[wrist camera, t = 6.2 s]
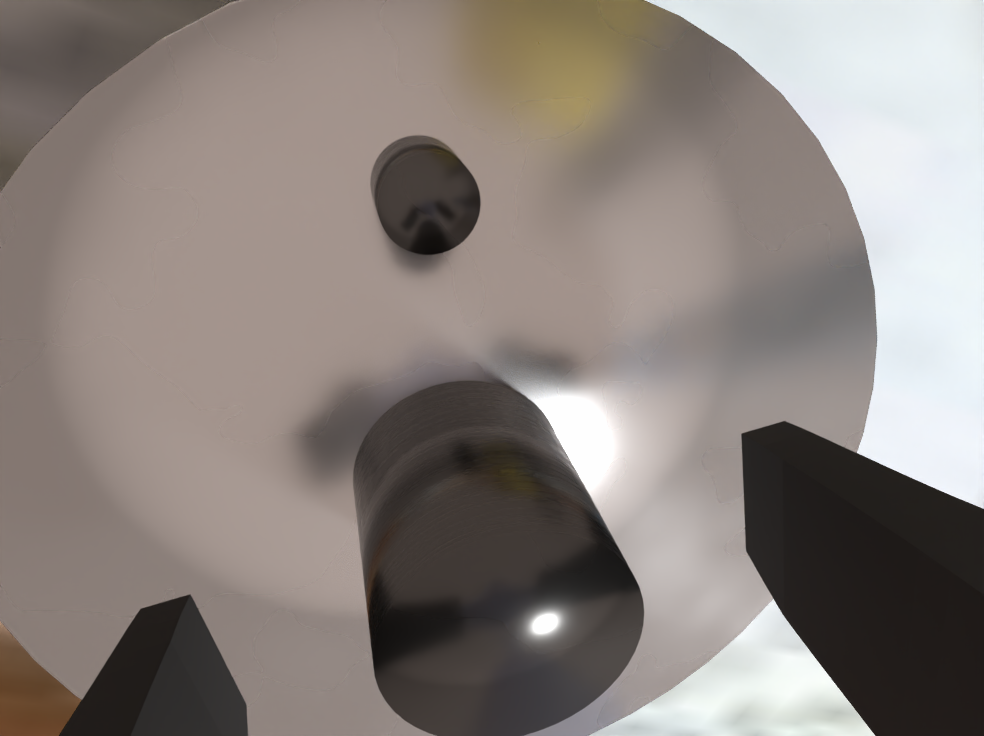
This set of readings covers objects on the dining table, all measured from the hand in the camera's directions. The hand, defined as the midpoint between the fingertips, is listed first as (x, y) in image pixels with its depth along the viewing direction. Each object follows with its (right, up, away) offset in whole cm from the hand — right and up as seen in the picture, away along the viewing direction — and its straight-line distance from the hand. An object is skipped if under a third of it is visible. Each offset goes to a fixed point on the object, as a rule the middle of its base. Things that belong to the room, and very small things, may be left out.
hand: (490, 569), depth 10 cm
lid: (-1, +1, +3) cm, 3 cm away
